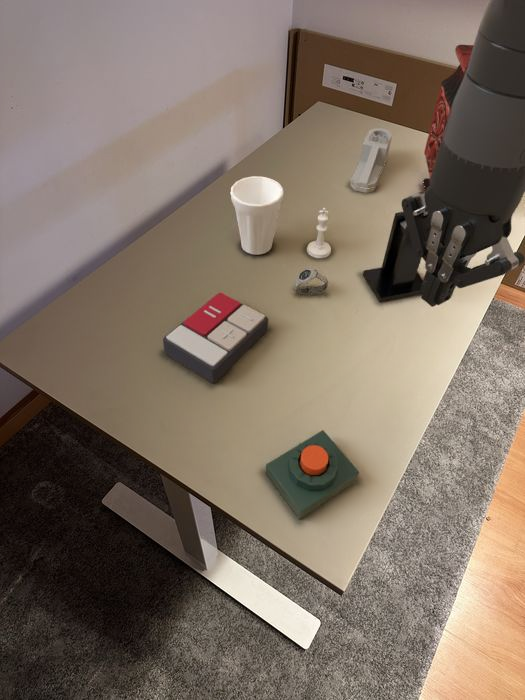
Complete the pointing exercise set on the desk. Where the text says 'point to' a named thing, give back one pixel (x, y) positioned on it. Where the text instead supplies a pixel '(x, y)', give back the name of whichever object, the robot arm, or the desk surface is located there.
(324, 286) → the wristwatch
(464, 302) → the desk surface
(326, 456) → the orange button
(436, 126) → the vase
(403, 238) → the bracket
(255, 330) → the calculator
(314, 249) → the chess piece
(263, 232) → the cup
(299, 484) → the control block
